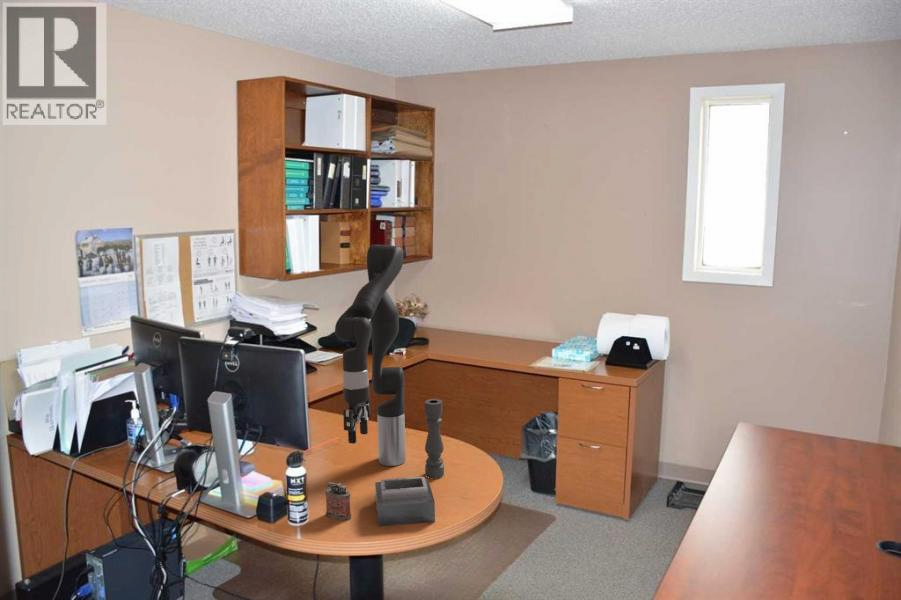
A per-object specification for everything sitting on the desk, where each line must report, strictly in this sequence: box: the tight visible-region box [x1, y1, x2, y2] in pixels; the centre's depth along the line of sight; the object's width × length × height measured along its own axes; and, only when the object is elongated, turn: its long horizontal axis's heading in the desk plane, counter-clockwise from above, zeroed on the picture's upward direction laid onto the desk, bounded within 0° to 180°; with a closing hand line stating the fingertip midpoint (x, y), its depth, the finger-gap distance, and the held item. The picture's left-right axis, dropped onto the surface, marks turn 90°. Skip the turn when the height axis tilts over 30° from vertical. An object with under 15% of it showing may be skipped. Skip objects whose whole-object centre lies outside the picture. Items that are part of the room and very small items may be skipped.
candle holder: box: [424, 398, 445, 479], centre depth 230 cm, size 6×6×25 cm
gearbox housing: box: [374, 476, 436, 527], centre depth 206 cm, size 16×16×8 cm
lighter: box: [324, 481, 352, 521], centre depth 203 cm, size 8×3×10 cm, turn 65°
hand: (358, 438), depth 209 cm, fingers open, 8 cm apart
